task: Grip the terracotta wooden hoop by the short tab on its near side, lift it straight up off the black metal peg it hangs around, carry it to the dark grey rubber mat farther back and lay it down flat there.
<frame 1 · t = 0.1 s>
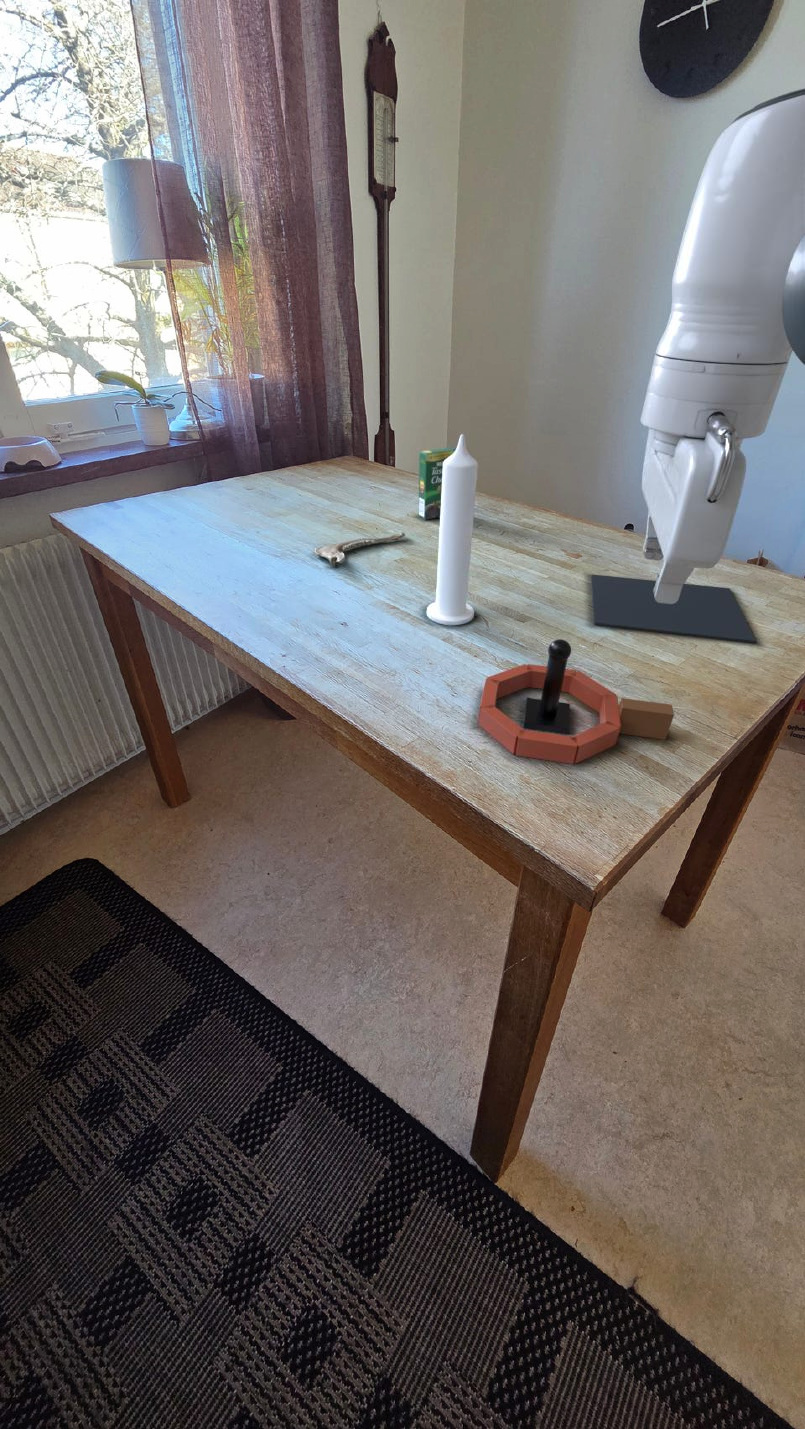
hand: (657, 577, 53), 20 cm above the table, tool pointing down, fingers open, 8 cm apart
peg stand: (546, 718, 70), on the table
coffee box: (436, 517, 127), on the table
mat: (665, 606, 93), on the table
candle: (450, 615, 90), on the table
jawbone: (369, 555, 109), on the table
hoop: (546, 718, 70), on the table
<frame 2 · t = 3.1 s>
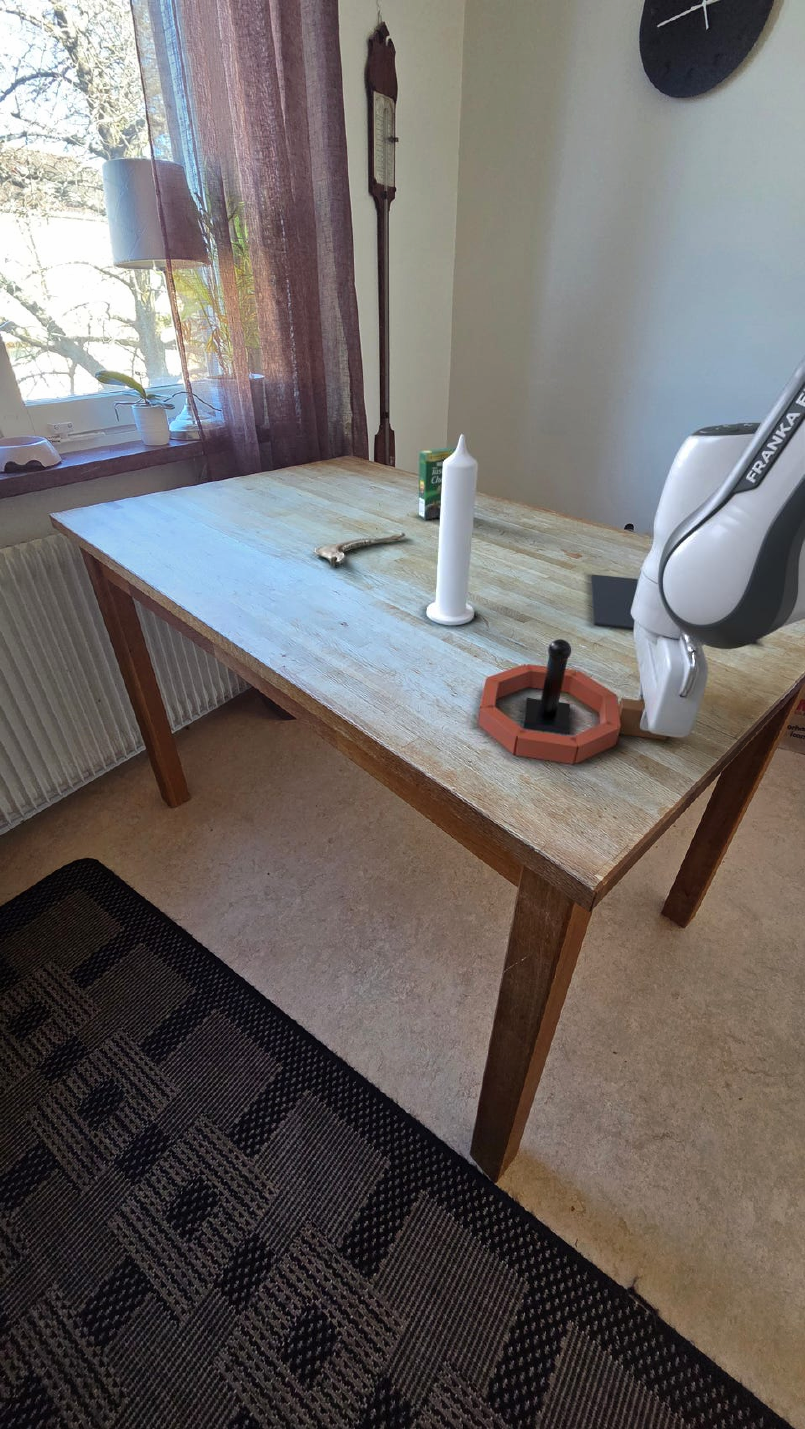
hand: (645, 718, 67), 2 cm above the table, tool pointing down, fingers closed on hoop, 2 cm apart
hoop: (546, 718, 70), on the table, touching gripper
everything else where it was.
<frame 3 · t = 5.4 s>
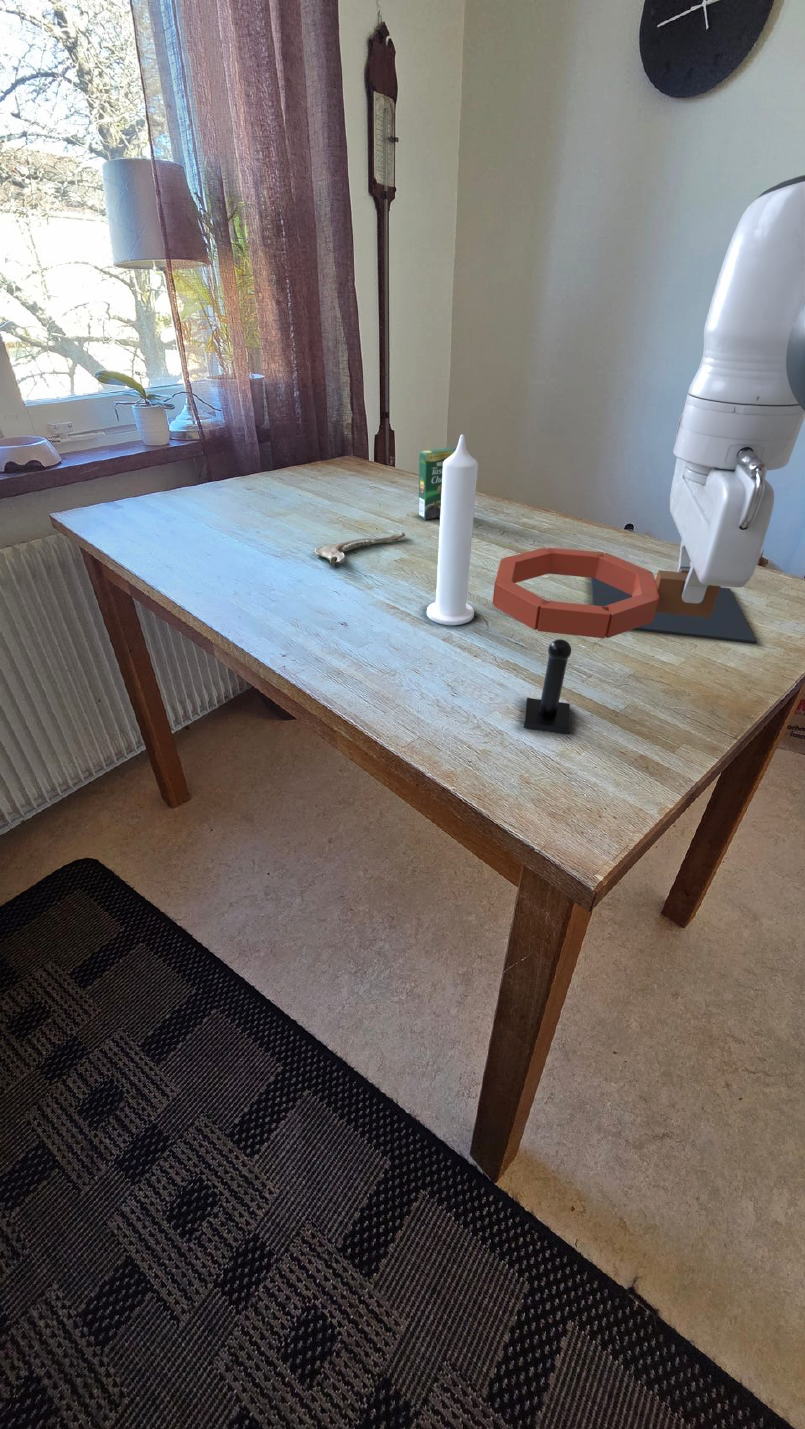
hand: (687, 592, 58), 17 cm above the table, tool pointing down, fingers closed on hoop
hoop: (571, 599, 61), point 15 cm above the table, touching gripper
everything else where it was.
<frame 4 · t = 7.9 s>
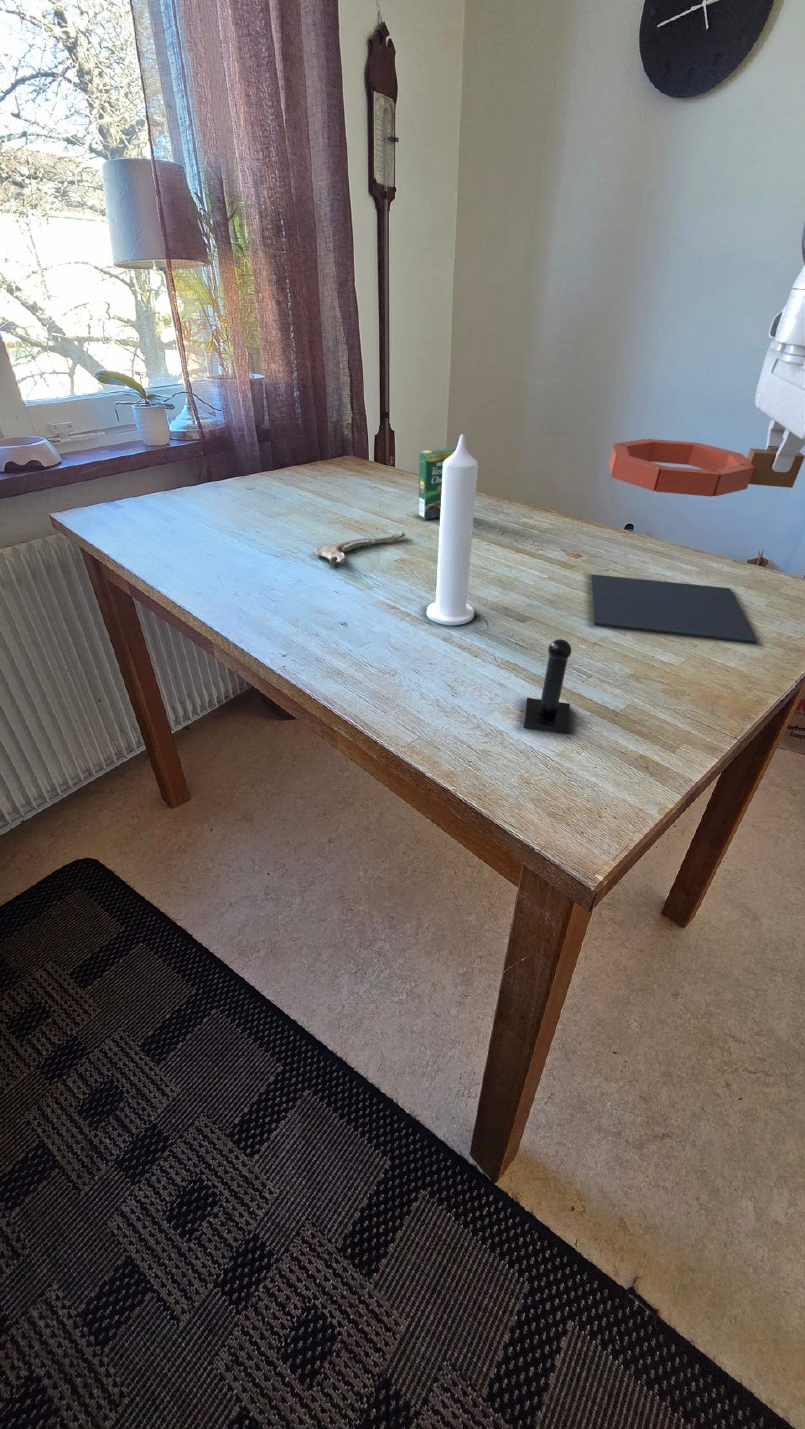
hand: (774, 466, 70), 24 cm above the table, tool pointing down, fingers closed on hoop
hoop: (674, 475, 73), point 22 cm above the table, touching gripper
everything else where it was.
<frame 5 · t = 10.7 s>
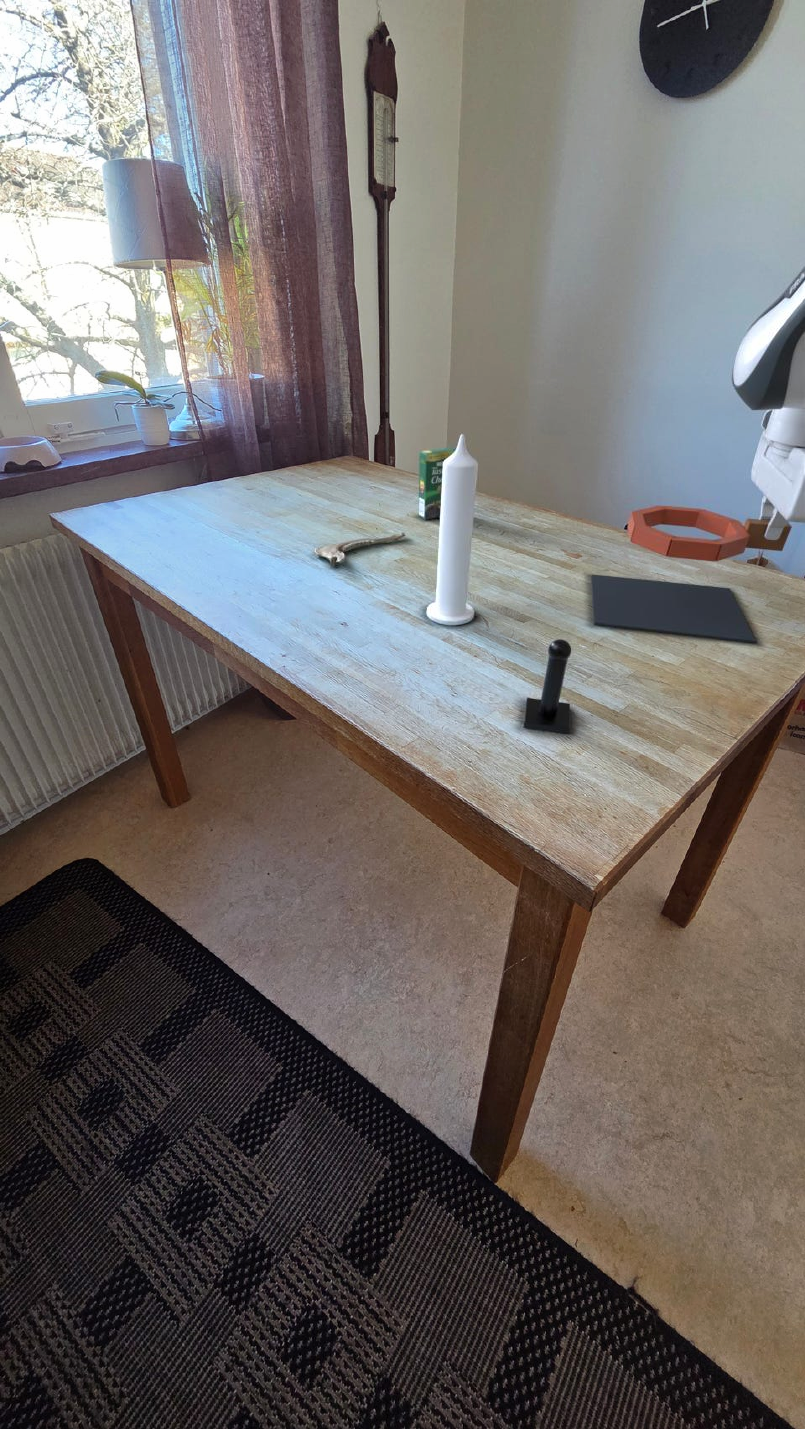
hand: (766, 534, 84), 12 cm above the table, tool pointing down, fingers closed on hoop
hoop: (683, 539, 87), point 11 cm above the table, touching gripper
everything else where it was.
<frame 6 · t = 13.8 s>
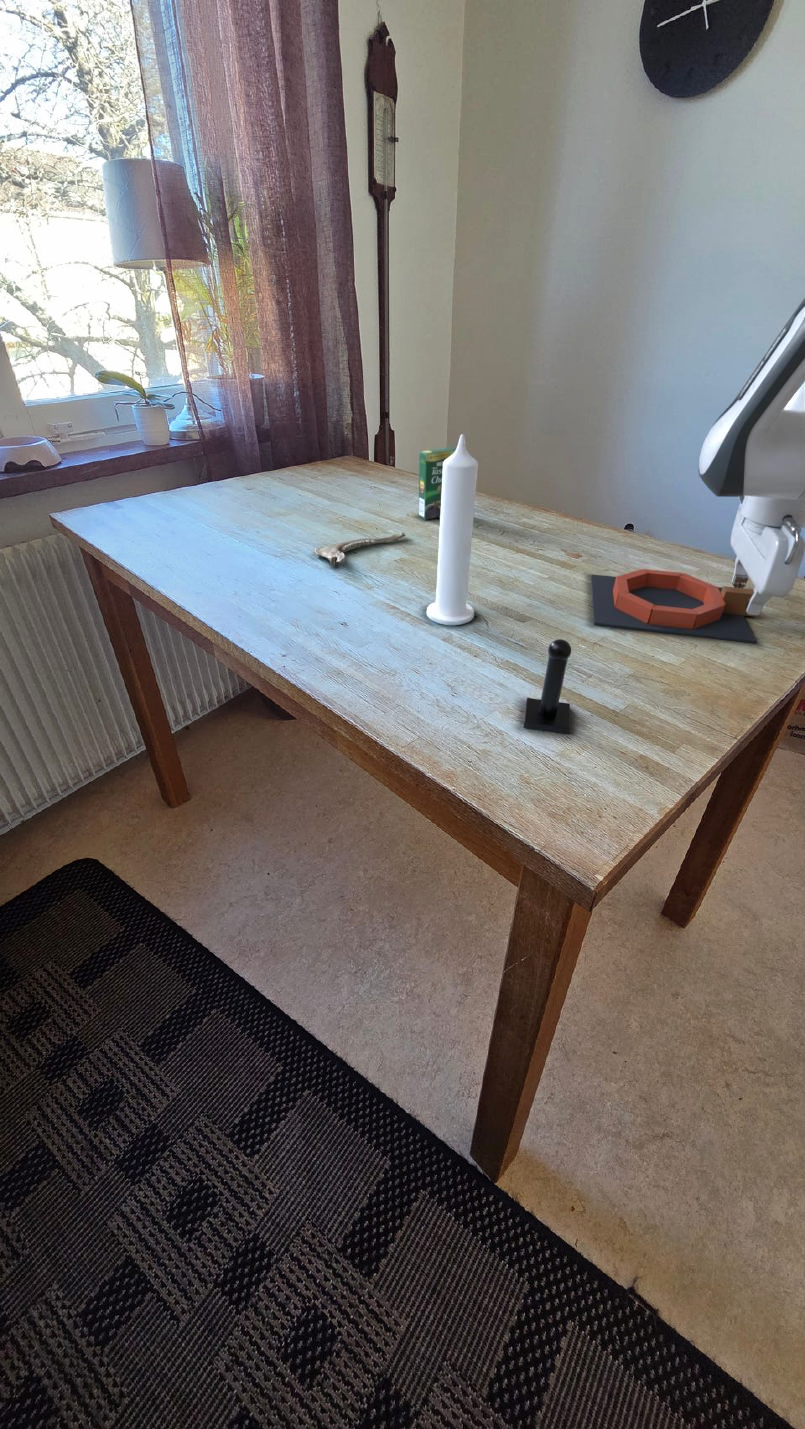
hand: (744, 599, 90), 3 cm above the table, tool pointing down, fingers open, 8 cm apart
hoop: (664, 604, 93), resting on mat
everything else where it was.
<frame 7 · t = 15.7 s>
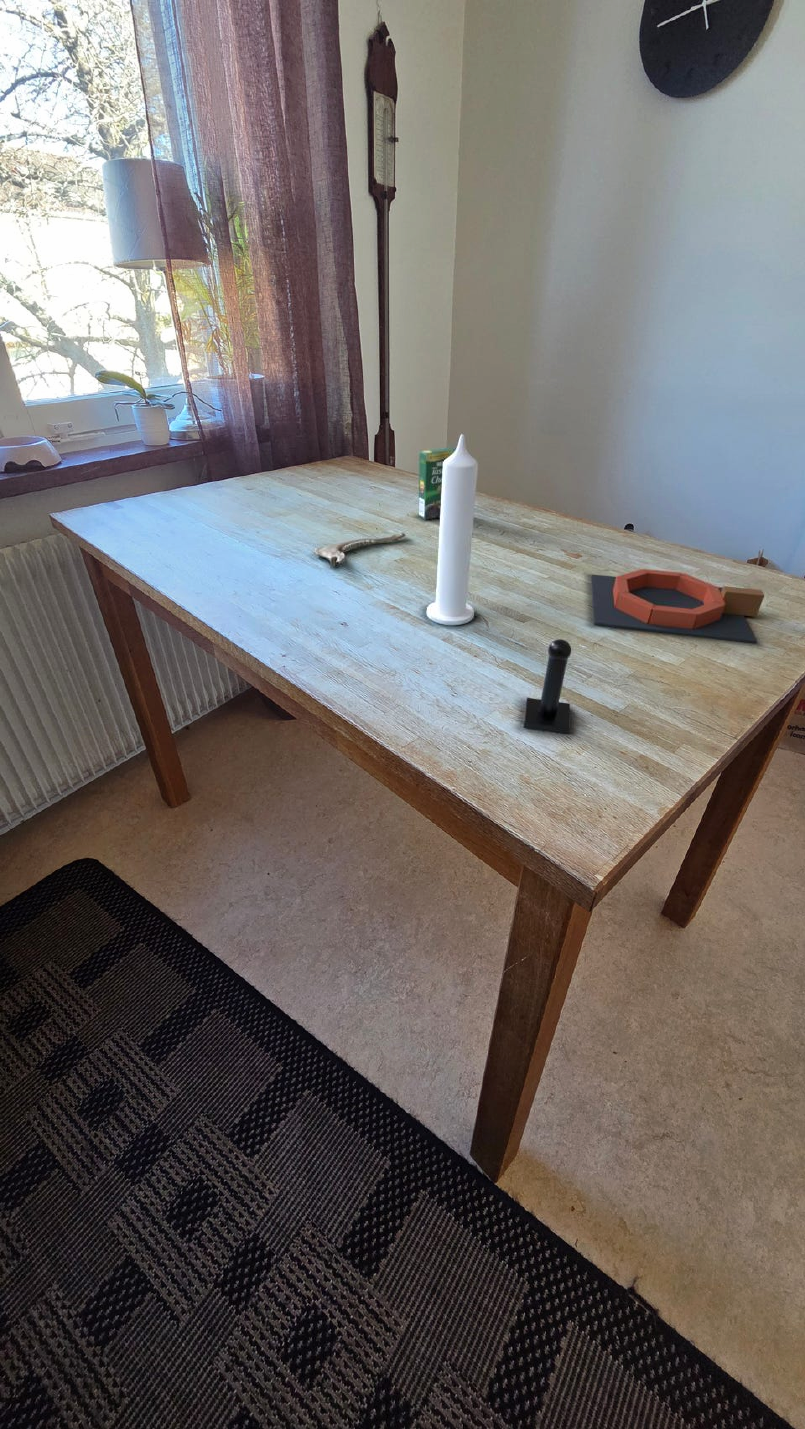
nothing on the table moved.
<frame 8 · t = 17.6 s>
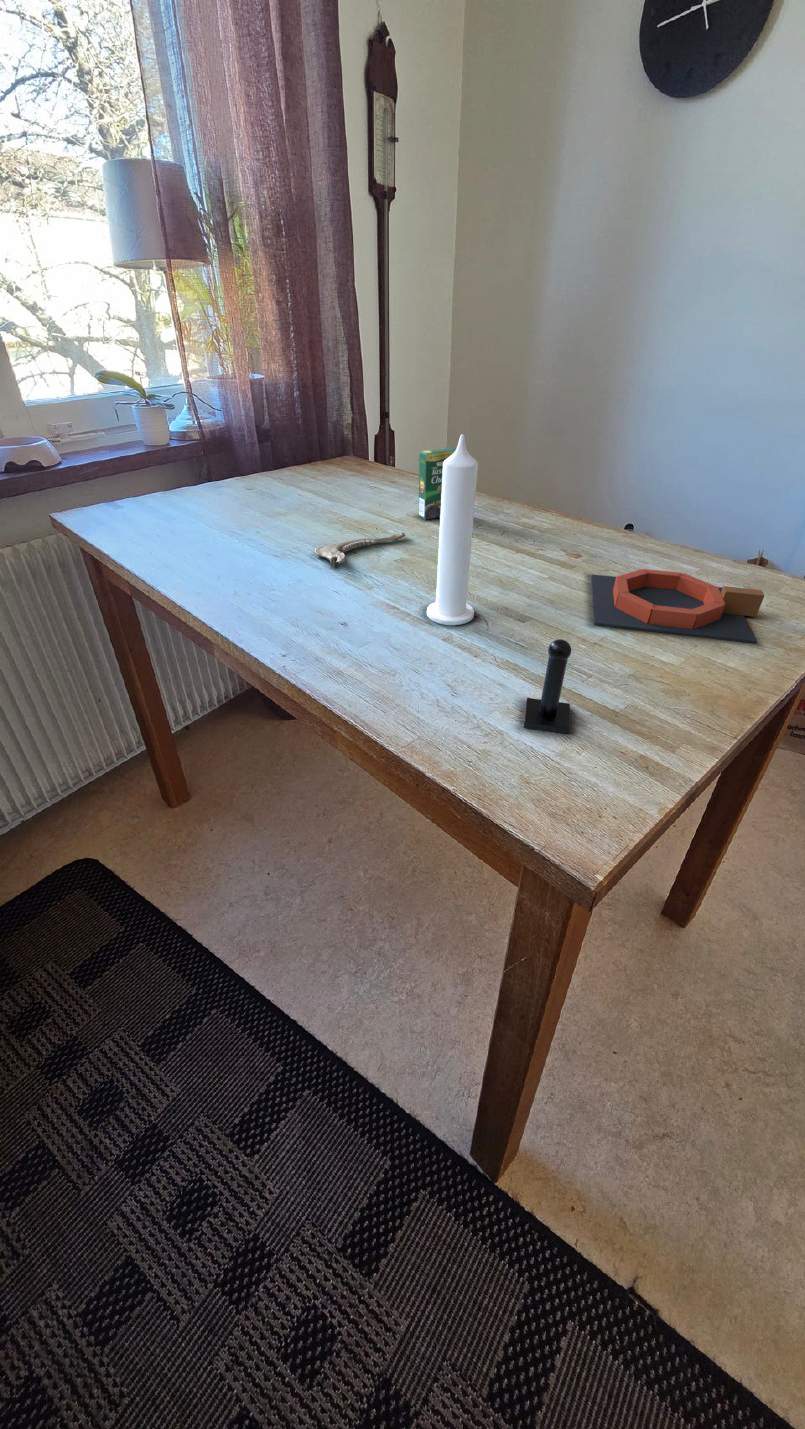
nothing on the table moved.
at the end: hoop inside the target area on the mat (0.2 cm from its centre), point 0.4 cm above the mat's base; hoop tilted 0°; the gripper is holding nothing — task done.
